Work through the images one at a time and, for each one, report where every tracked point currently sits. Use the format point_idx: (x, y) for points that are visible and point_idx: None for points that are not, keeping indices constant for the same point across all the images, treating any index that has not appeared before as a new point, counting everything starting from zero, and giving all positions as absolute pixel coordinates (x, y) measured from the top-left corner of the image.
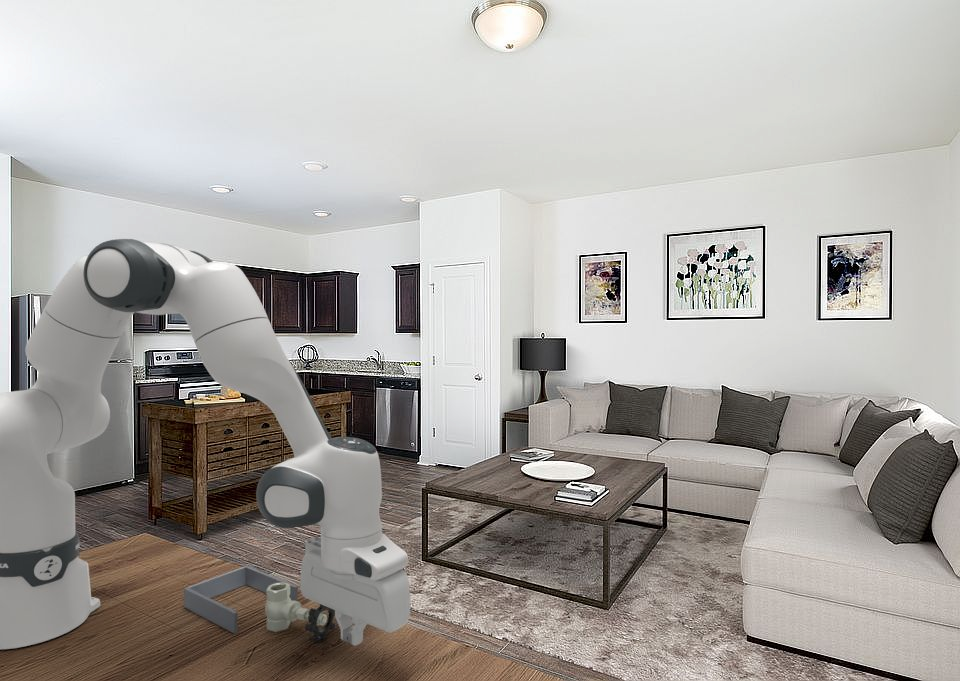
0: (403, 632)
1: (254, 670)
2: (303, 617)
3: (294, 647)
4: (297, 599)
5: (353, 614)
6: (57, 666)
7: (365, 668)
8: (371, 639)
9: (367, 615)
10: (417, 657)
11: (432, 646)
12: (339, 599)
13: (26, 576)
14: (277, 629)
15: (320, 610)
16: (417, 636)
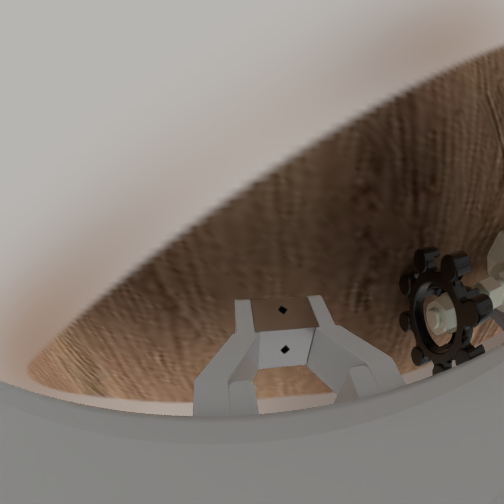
0: None
1: (459, 74)
2: (484, 286)
3: (449, 210)
4: (495, 320)
5: (193, 443)
6: None
7: (180, 262)
8: None
9: (50, 449)
10: (126, 359)
11: (144, 392)
12: (383, 481)
13: None
14: (500, 238)
15: (461, 333)
16: None
